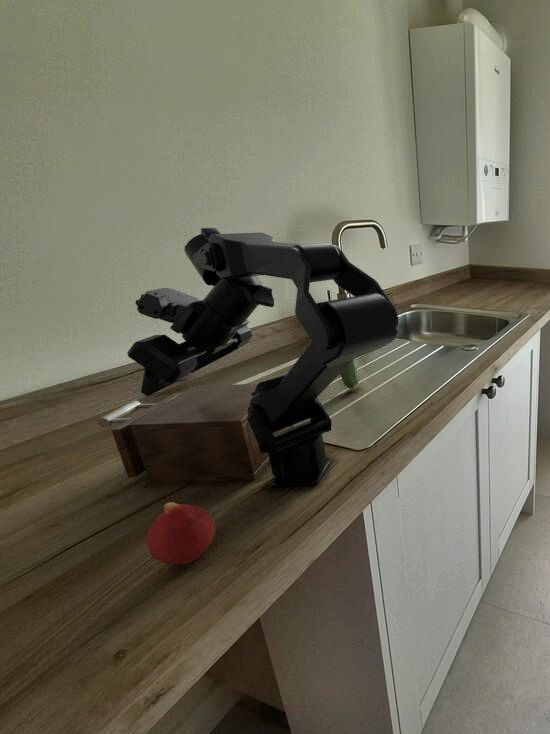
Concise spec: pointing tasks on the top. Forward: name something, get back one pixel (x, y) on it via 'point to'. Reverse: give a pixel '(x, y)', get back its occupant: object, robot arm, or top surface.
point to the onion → (180, 534)
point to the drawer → (130, 432)
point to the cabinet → (201, 437)
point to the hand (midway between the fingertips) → (168, 381)
